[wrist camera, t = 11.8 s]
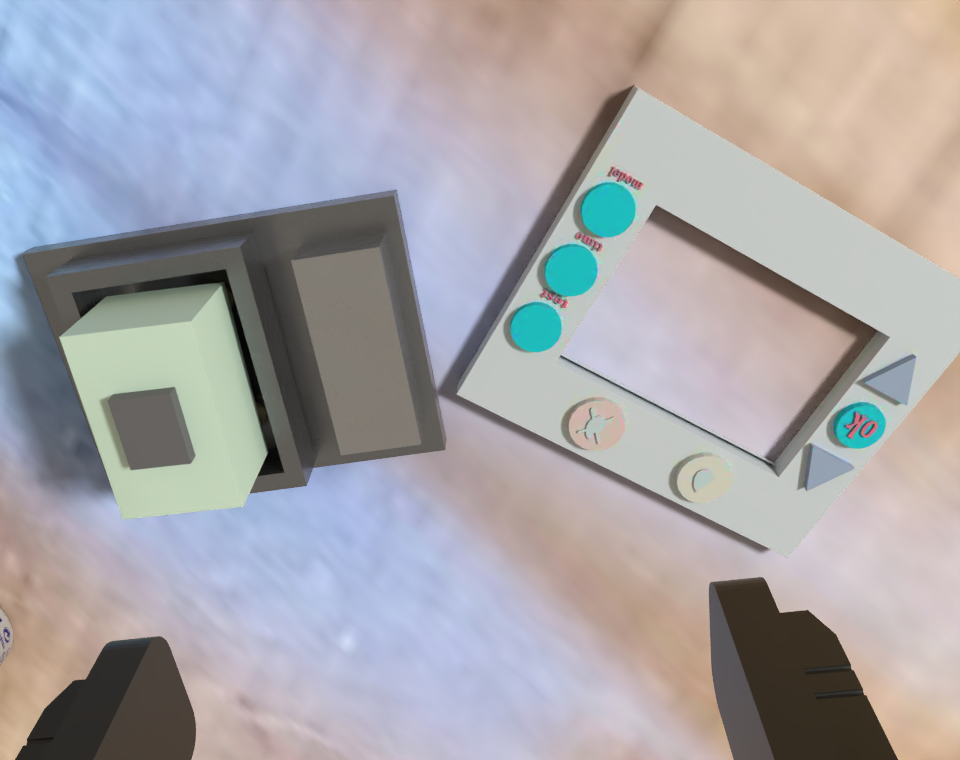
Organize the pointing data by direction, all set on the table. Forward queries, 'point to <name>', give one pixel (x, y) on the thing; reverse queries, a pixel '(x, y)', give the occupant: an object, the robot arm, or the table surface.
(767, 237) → the electronic device
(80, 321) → the module
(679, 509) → the table surface
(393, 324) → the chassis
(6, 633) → the energy drink
